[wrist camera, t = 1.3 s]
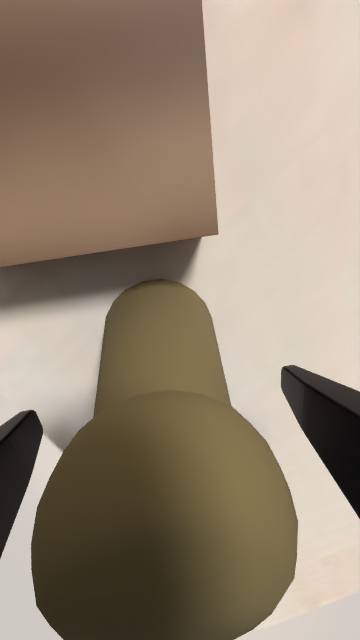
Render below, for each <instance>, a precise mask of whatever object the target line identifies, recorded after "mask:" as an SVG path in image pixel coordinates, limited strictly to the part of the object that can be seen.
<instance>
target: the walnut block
mask: <svg viewBox="0 0 360 640" xmlns="http://www.w3.org/2000/svg"><path fill="white" fill-rule="evenodd" d="M217 234H218V222H217V208H216V194H215V180H214V166H213V152H212V138H211V124H210V110H209V96H208V82H207V68H206V54H205V40H204V27H203V13H202V0H0V267H4V266H10V265H17V264H24V263H30V262H37V261H44V260H50V259H57V258H64V257H70V256H77V255H84V254H91V253H97V252H104V251H111V250H117V249H124V248H131V247H137V246H144V245H151V244H157V243H164V242H171V241H177V240H184V239H191V238H197V237H204V236H211V235H217Z"/></svg>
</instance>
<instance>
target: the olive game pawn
mask: <svg viewBox="0 0 360 640" xmlns="http://www.w3.org/2000/svg"><path fill="white" fill-rule="evenodd" d="M297 533H298V520H297V516H296V512H295V508H294V504H293V500H292V496H291V492H290V489H289V487H288V484H287V482H286V480H285V477H284V475H283V472H282V470H281V468H280V466H279V464H278V462H277V460H276V458H275V456H274V454H273V452H272V450H271V449H270V447H269V445H268V443H267V441H266V440H265V439H264V438H263V437H262V436H261V435H260V433H259V432H258V431H257V430H256V429H255V428H254V427H253V426H252V425H251V424H250V423H249V422H248V421H247V420H246V419H245V418H244V417H243V416H242V415H241V414H239V413H238V412H237V411H236V410H235V409H234V408H233V407H232V406H231V403H230V398H229V394H228V389H227V385H226V380H225V376H224V371H223V367H222V362H221V358H220V353H219V349H218V344H217V340H216V335H215V331H214V326H213V322H212V317H211V315H210V313H209V310H208V308H207V306H206V304H205V302H204V301H203V300H202V299H201V298H200V297H199V296H198V295H197V294H196V293H195V291H193V290H191V289H190V288H188V287H186V286H184V285H182V284H180V283H178V282H173V281H167V280H162V279H159V280H152V281H144V282H141V283H139V284H137V285H134V286H132V287H130V288H128V289H126V290H125V291H124V292H123V293H122V294H121V295H120V296H119V297H118V298H117V299H116V300H115V301H114V302H113V304H112V306H111V308H110V310H109V312H108V314H107V316H106V321H105V329H104V337H103V345H102V353H101V361H100V369H99V377H98V385H97V393H96V401H95V409H94V417H93V419H92V420H91V421H89V422H88V423H87V424H86V425H85V426H84V427H82V428H81V429H80V430H79V431H78V433H77V434H76V435H75V437H74V438H73V439H72V441H71V442H70V443H69V445H68V446H67V448H66V449H65V450H64V452H63V454H62V456H61V458H60V459H59V461H58V463H57V465H56V467H55V469H54V471H53V472H52V474H51V476H50V478H49V481H48V483H47V485H46V488H45V490H44V492H43V495H42V497H41V499H40V502H39V504H38V507H37V512H36V518H35V524H34V530H33V536H32V542H31V559H32V564H31V565H32V576H33V584H34V591H35V597H36V605H37V607H38V609H39V610H40V611H41V613H42V615H43V616H44V617H45V619H46V620H47V622H48V623H49V625H50V626H51V627H52V628H53V629H54V630H55V631H56V632H57V633H58V634H59V635H60V636H61V637H62V638H63V639H64V640H234V639H236V638H237V637H240V636H241V635H243V634H245V633H247V632H249V631H251V630H253V629H254V628H255V627H256V626H258V625H259V624H260V623H261V622H262V621H264V620H265V619H266V618H267V617H268V616H270V615H271V614H272V612H273V611H274V609H275V608H276V606H277V605H278V603H279V602H280V600H281V599H282V597H283V595H284V594H285V592H286V590H287V589H288V587H289V586H290V584H291V582H292V581H293V579H294V575H295V567H296V559H297Z"/></svg>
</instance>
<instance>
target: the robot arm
mask: <svg viewBox="0 0 360 640" xmlns="http://www.w3.org/2000/svg"><path fill="white" fill-rule="evenodd" d="M281 388H282V391H283V393H284V395H285V397H286V399H287V401H288V403H289V405H290V407H291V409H292V411H293V413H294V415H295V417H296V419H297V421H298V423H299V425H300V427H301V429H302V430H303V432H304V433H305V435H306V437H307V438H308V440H309V441H310V443H311V444H312V446H313V447H314V449H315V451H316V452H317V454H318V455H319V457H320V458H321V460H322V461H323V463H324V464H325V466H326V467H327V469H328V471H329V472H330V474H331V475H332V477H333V478H334V480H335V481H336V483H337V484H338V486H339V488H340V489H341V491H342V492H343V494H344V495H345V497H346V498H347V500H348V501H349V503H350V505H351V506H352V508H353V509H354V511H355V512H356V514H357V515H358V517H359V518H360V392H359V391H357V390H354V389H352V388H350V387H347V386H345V385H342V384H340V383H337V382H335V381H332V380H330V379H327V378H325V377H322V376H320V375H317V374H315V373H312V372H310V371H307V370H305V369H303V368H300V367H298V366H295V365H289V366H284V367H282V370H281ZM42 435H43V427H42V425H41V422H40V420H39V418H38V416H37V414H36V412H35V411H34V410H28V411H22V412H20V413H18V414H17V415H15V416H14V417H13V418H11V419H10V420H9V421H7V422H6V423H4V424H3V425H1V426H0V558H1V555H2V552H3V550H4V547H5V545H6V542H7V539H8V536H9V534H10V531H11V529H12V526H13V523H14V521H15V518H16V516H17V513H18V510H19V508H20V505H21V502H22V500H23V497H24V494H25V492H26V489H27V487H28V484H29V481H30V478H31V474H32V471H33V468H34V464H35V460H36V457H37V453H38V450H39V446H40V442H41V439H42Z"/></svg>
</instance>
